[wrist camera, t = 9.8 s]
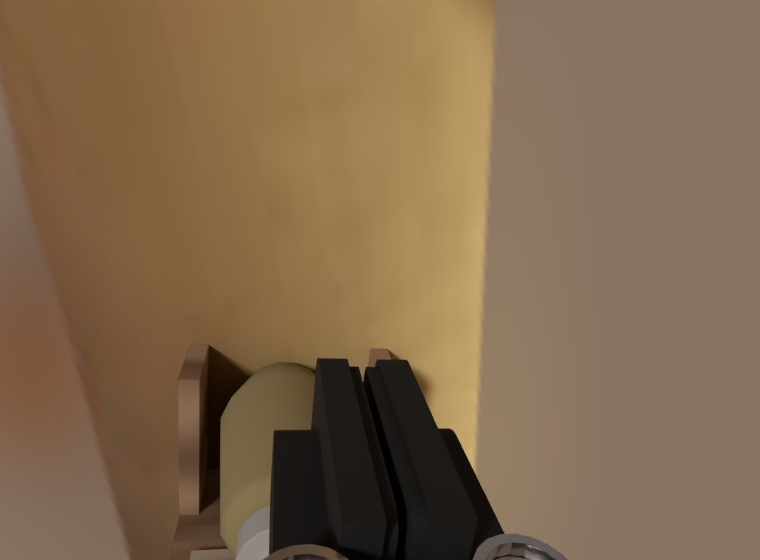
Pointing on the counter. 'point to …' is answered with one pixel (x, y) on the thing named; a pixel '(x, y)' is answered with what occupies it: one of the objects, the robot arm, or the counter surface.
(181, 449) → the walnut holder
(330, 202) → the counter surface
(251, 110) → the counter surface
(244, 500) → the squeeze bottle
